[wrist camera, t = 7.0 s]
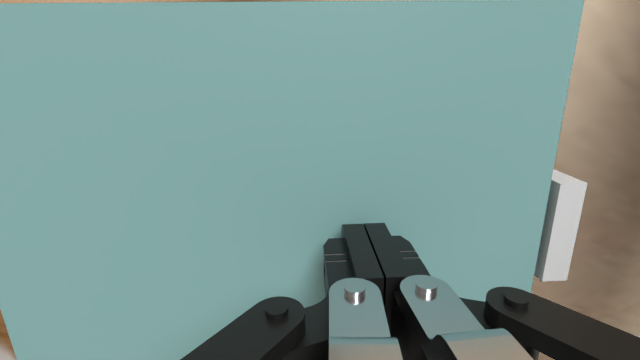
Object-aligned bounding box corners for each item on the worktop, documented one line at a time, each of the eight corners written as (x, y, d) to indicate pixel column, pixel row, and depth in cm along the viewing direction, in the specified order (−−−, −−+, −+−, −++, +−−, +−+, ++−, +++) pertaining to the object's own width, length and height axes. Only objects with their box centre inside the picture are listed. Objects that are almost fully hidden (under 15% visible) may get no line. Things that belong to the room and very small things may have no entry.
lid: (580, 7, 13) (627, -2, 11) (515, 364, 18) (541, 399, 16) (-41, 12, 12) (-103, 3, 10) (67, 391, 17) (38, 432, 15)
